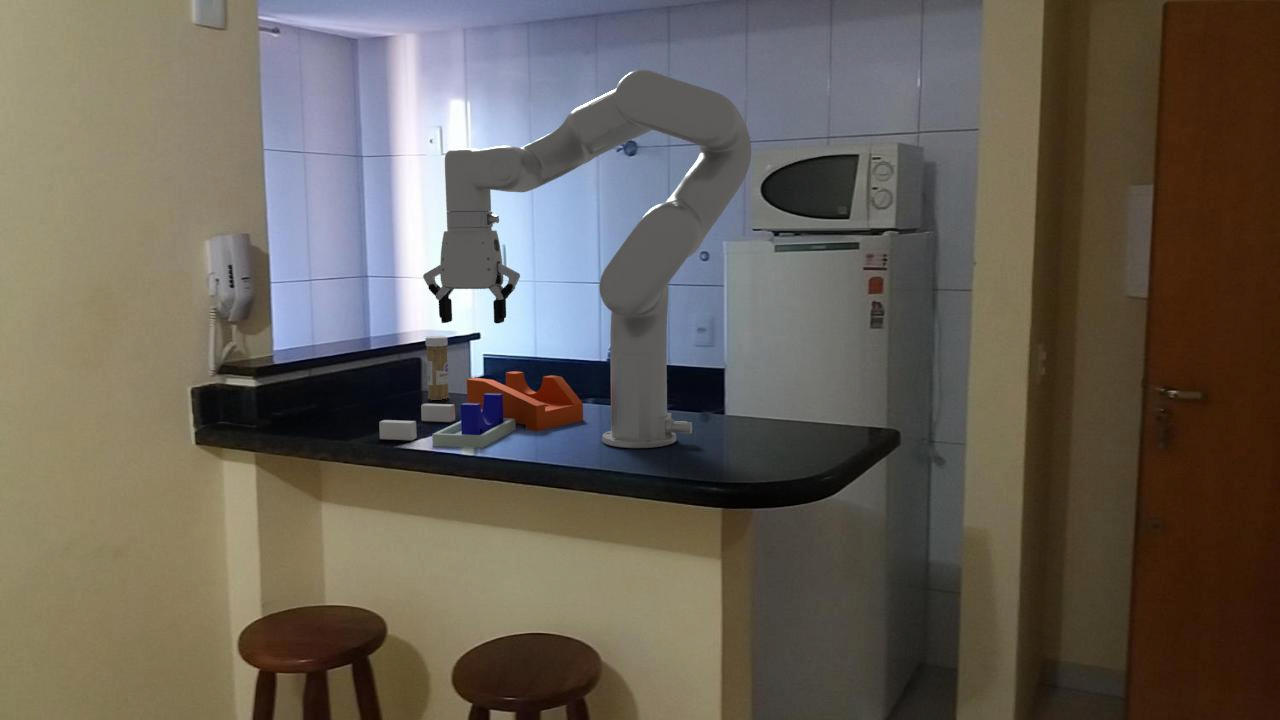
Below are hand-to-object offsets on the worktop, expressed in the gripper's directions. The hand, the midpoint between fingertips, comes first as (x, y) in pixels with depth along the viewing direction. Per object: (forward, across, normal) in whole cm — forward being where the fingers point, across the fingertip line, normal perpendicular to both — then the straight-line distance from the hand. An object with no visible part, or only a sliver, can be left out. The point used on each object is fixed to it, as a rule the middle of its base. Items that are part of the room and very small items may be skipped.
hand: (472, 322), depth 184 cm
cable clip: (+20, 0, 0) cm, 20 cm away
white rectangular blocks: (+20, +13, -5) cm, 25 cm away
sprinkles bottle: (+20, +23, -36) cm, 47 cm away
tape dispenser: (+21, -3, -17) cm, 27 cm away
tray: (+20, 0, 0) cm, 20 cm away
